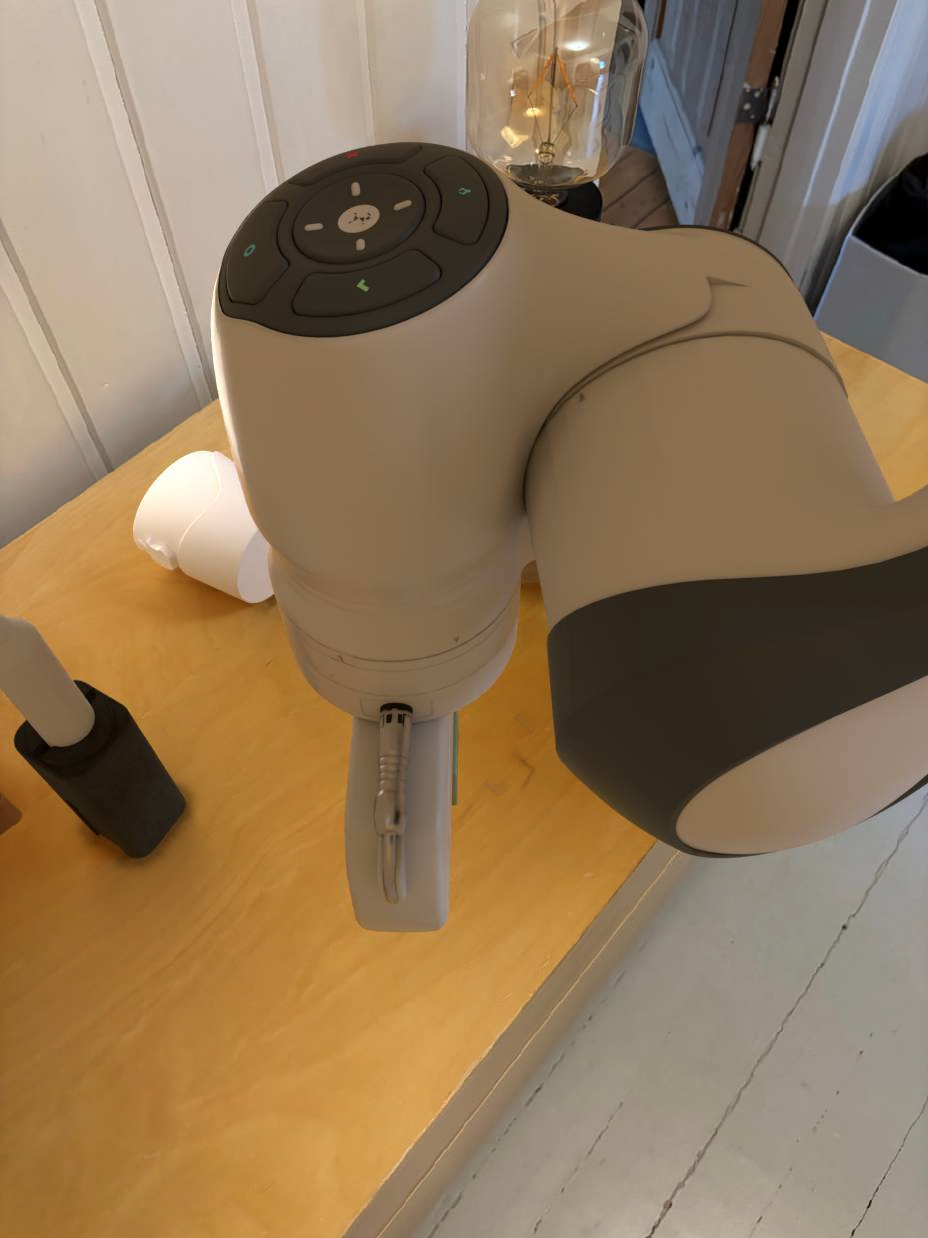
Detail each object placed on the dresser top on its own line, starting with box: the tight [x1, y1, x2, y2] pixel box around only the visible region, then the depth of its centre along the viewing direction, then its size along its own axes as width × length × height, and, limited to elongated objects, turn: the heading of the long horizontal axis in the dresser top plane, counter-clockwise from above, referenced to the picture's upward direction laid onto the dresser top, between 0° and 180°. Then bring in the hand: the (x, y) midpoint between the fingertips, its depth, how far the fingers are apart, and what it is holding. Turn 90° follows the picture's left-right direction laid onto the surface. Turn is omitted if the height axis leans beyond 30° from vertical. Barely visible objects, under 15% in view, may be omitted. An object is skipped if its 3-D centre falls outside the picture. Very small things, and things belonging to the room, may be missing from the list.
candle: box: [0, 613, 186, 859], centre depth 52 cm, size 5×5×25 cm
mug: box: [132, 450, 274, 604], centre depth 71 cm, size 12×9×8 cm
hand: (418, 754), depth 47 cm, fingers closed on block, 4 cm apart
